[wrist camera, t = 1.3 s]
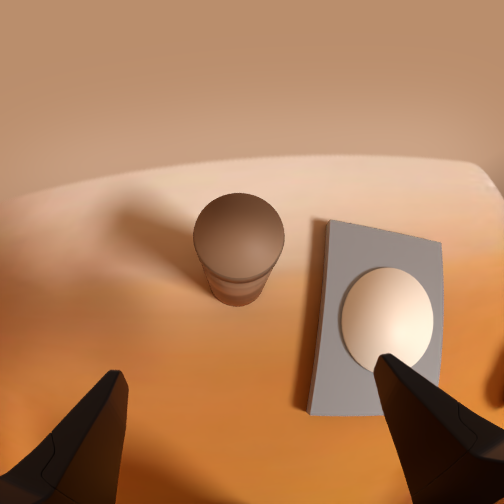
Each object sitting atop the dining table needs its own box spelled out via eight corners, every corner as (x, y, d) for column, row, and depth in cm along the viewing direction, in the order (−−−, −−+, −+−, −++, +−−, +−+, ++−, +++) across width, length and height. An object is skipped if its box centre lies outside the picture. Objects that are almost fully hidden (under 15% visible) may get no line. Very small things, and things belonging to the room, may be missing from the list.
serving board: (427, 409, 21) (436, 411, 20) (306, 412, 21) (310, 416, 19) (434, 246, 26) (442, 241, 25) (326, 225, 26) (331, 218, 25)
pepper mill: (260, 311, 23) (279, 284, 14) (204, 302, 23) (184, 269, 14) (268, 257, 25) (289, 199, 15) (214, 248, 25) (203, 186, 15)
